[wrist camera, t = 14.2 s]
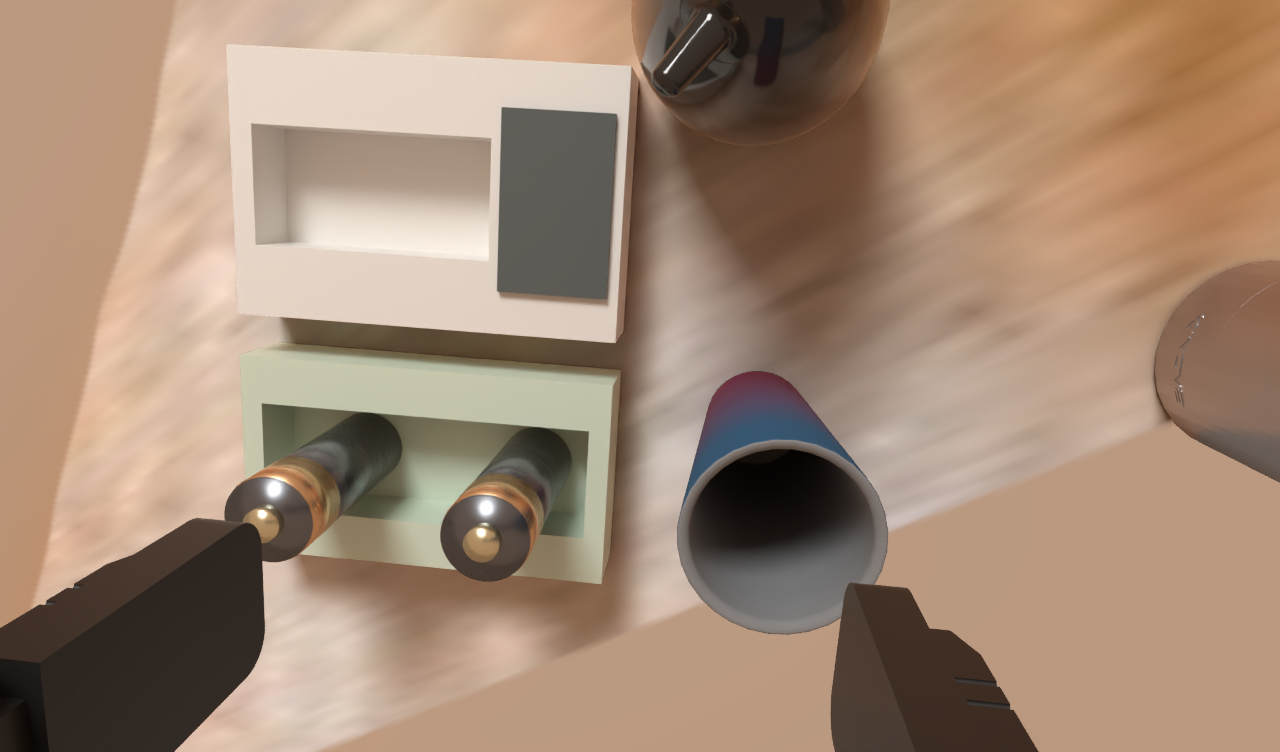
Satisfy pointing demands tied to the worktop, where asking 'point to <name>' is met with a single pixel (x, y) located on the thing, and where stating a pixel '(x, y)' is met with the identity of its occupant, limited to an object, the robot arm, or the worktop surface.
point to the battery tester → (432, 190)
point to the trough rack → (440, 444)
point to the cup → (776, 512)
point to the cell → (315, 484)
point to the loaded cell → (506, 506)
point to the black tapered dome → (756, 62)
